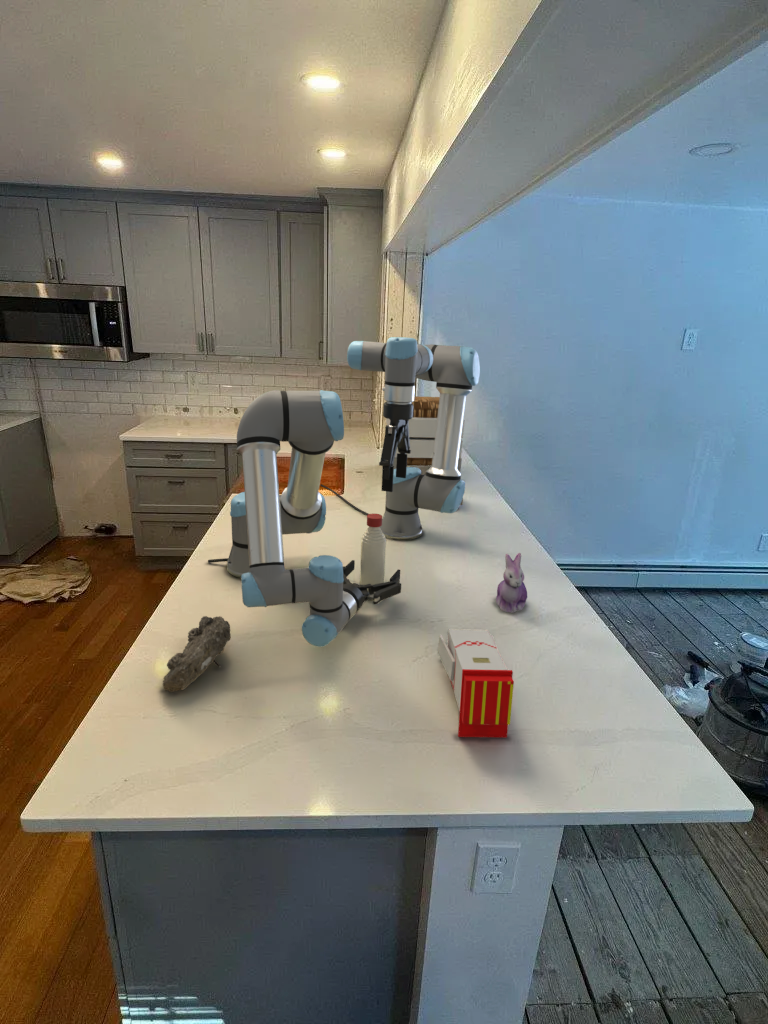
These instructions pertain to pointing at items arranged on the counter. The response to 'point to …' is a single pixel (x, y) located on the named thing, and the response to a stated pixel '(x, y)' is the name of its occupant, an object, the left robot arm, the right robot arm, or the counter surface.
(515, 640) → the counter surface
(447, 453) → the right robot arm
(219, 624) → the fossil
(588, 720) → the counter surface
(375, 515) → the cap
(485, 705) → the toy
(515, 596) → the figurine
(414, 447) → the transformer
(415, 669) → the counter surface
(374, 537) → the bottle
